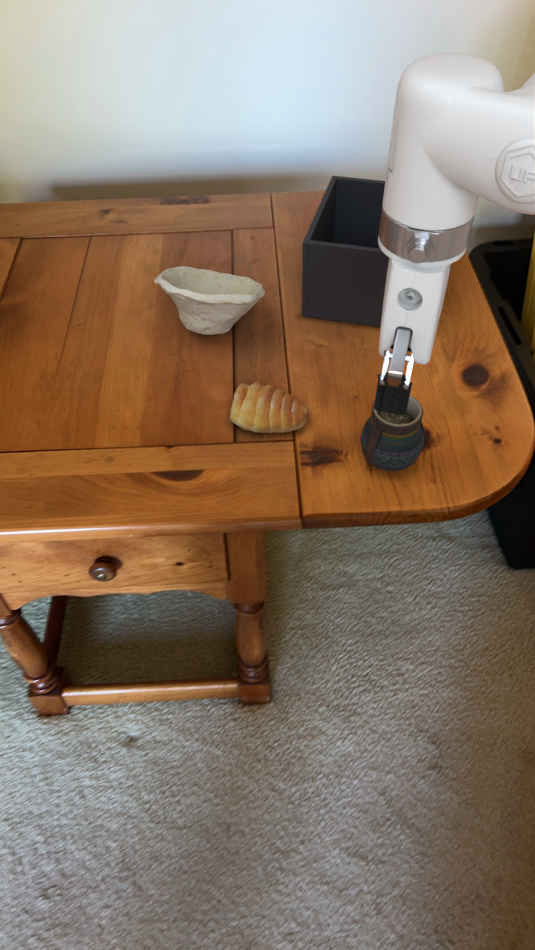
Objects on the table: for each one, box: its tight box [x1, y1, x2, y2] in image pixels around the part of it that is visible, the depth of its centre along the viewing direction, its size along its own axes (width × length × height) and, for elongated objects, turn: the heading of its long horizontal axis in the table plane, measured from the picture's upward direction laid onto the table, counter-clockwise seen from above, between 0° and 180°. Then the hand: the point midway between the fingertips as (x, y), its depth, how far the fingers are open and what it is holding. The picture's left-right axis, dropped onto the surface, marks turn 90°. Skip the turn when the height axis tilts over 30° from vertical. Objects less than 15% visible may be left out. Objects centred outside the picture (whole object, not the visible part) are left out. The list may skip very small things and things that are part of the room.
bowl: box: [153, 265, 266, 336], centre depth 91 cm, size 15×14×10 cm
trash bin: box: [301, 175, 389, 328], centre depth 95 cm, size 17×19×12 cm
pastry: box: [229, 381, 309, 434], centre depth 81 cm, size 9×7×4 cm
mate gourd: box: [360, 372, 426, 473], centre depth 74 cm, size 7×8×10 cm
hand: (397, 378), depth 69 cm, fingers open, 9 cm apart
